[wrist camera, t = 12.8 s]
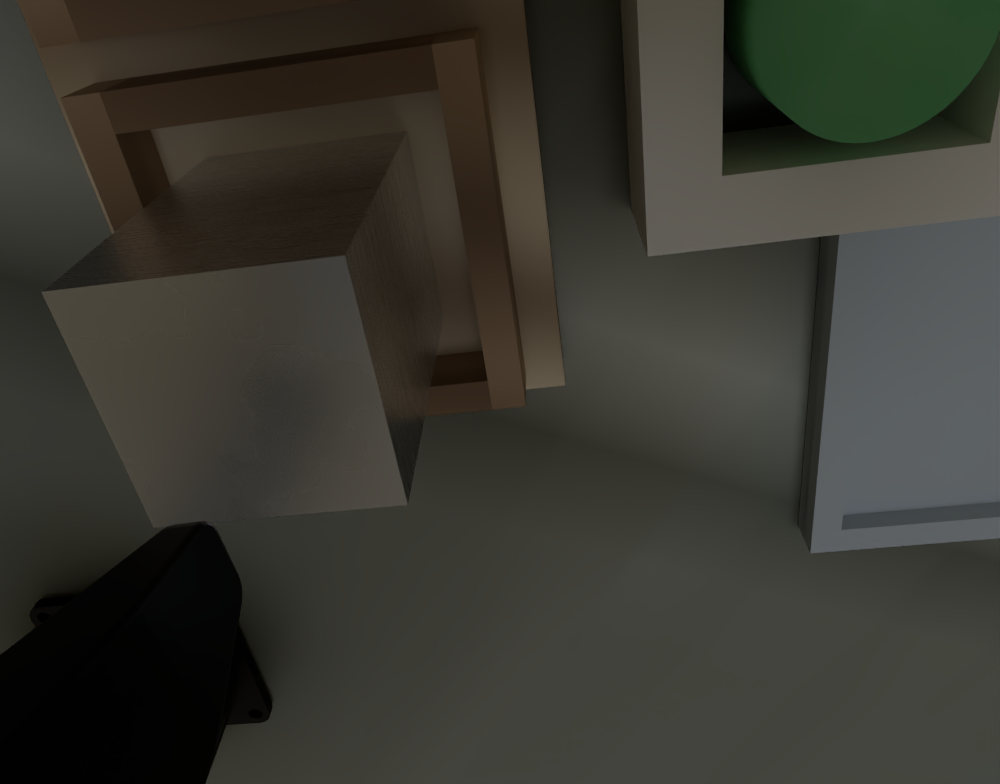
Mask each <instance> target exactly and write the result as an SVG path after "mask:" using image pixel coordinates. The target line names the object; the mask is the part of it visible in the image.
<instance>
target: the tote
mask: <svg viewBox="0 0 1000 784" xmlns="http://www.w3.org/2000/svg"><path fill="white" fill-rule="evenodd" d="M798 526H799V528H800V531H801V533H802V535H803V537H804V540H805V542H806V544H807V547H808V549H809V551H810V553H820V552H833V551H845V550H858V549H870V548H883V547H895V546H908V545H920V544H933V543H945V542H957V541H970V540H982V539H995V538H1000V216H994V217H986V218H977V219H969V220H960V221H951V222H943V223H934V224H925V225H917V226H908V227H900V228H891V229H882V230H874V231H865V232H856V233H848V234H839V235H831V236H822V237H821V242H820V255H819V268H818V280H817V293H816V306H815V319H814V331H813V344H812V357H811V370H810V382H809V395H808V408H807V421H806V433H805V446H804V459H803V472H802V485H801V497H800V510H799V523H798Z"/></svg>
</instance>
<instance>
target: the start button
mask: <svg viewBox="0 0 1000 784" xmlns="http://www.w3.org/2000/svg"><path fill="white" fill-rule="evenodd" d="M724 28H725V36H726V42H727V46H728V49H729V52H730V55H731V58H732V60H733V62H734V64H735V66H736V68H737V69H738V71H739V72H740V74H741V75H742V77H743V78H744V79H745V80H746V81H747V82H748V83H749V84H750V85H751V86H752V87H753V88H754V89H755V90H756V91H758V92H759V93H760V94H761V95H762V96H764V97H765V98H766V99H767V100H768V101H770V102H771V103H772V104H773V105H774V106H776V107H777V108H778V109H779V110H780V111H782V112H783V113H784V114H785V115H786V116H788V117H789V118H790V119H791V120H792V121H794V122H795V123H796V124H798V125H799V126H800V127H801V128H803V129H805V130H806V131H808V132H810V133H812V134H814V135H816V136H819V137H821V138H824V139H827V140H832V141H836V142H842V143H869V142H875V141H880V140H885V139H888V138H891V137H894V136H898V135H900V134H903V133H905V132H907V131H910V130H912V129H914V128H916V127H918V126H919V125H921V124H923V123H925V122H926V121H928V120H930V119H931V118H932V117H934V116H935V115H937V114H938V113H939V112H941V111H942V110H943V109H945V108H946V107H947V106H948V105H949V104H950V103H951V102H952V101H954V100H955V99H956V98H957V97H958V96H959V95H960V94H961V92H962V91H963V90H964V89H965V88H966V87H967V86H968V85H969V83H970V82H971V81H972V80H973V78H974V77H975V76H976V74H977V73H978V72H979V70H980V69H981V67H982V65H983V64H984V62H985V60H986V59H987V57H988V55H989V53H990V51H991V49H992V47H993V45H994V43H995V41H996V39H997V36H998V33H999V30H1000V0H726V1H725V10H724Z"/></svg>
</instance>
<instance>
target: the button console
mask: <svg viewBox="0 0 1000 784" xmlns="http://www.w3.org/2000/svg"><path fill="white" fill-rule="evenodd" d="M620 2H621V21H622V41H623V60H624V80H625V99H626V119H627V138H628V158H629V177H630V197H631V210H632V213H633V216H634V218H635V221H636V224H637V227H638V230H639V233H640V236H641V239H642V242H643V245H644V248H645V250H646V253H647V256H648V257H650V256H658V255H667V254H675V253H684V252H693V251H701V250H710V249H719V248H727V247H736V246H744V245H753V244H762V243H770V242H779V241H787V240H796V239H805V238H813V237H822V236H831V235H839V234H848V233H856V232H865V231H874V230H882V229H891V228H900V227H908V226H917V225H925V224H934V223H943V222H951V221H960V220H969V219H977V218H986V217H994V216H1000V30H999V33H998V36H997V39H996V41H995V43H994V45H993V47H992V49H991V51H990V53H989V55H988V57H987V59H986V60H985V62H984V64H983V65H982V67H981V69H980V70H979V72H978V73H977V74H976V76H975V77H974V78H973V80H972V81H971V82H970V83H969V85H968V86H967V87H966V88H965V89H964V90H963V91H962V92H961V94H960V95H959V96H958V97H957V98H956V99H955V100H954V101H952V102H951V103H950V104H949V105H948V106H947V107H946V108H945V109H943V110H942V111H941V112H939V113H938V114H937V115H935V116H934V117H932V118H931V119H930V120H928V121H926V122H925V123H923V124H921V125H919V126H918V127H916V128H914V129H912V130H910V131H907V132H905V133H903V134H900V135H898V136H894V137H891V138H888V139H885V140H880V141H875V142H869V143H842V142H836V141H832V140H827V139H824V138H821V137H819V136H816V135H814V134H812V133H810V132H808V131H806V130H805V129H803V128H801V127H800V126H799V125H798V124H790V125H783V126H775V127H767V128H759V129H752V130H744V131H736V132H728V133H723V35H724V0H620Z"/></svg>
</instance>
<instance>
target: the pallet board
mask: <svg viewBox="0 0 1000 784" xmlns="http://www.w3.org/2000/svg"><path fill="white" fill-rule="evenodd" d="M17 3H18V5H19V8H20V10H21V12H22V15H23V17H24V20H25V22H26V25H27V27H28V30H29V32H30V34H31V37H32V39H33V42H34V44H35V47H36V49H37V52H38V54H39V56H40V59H41V61H42V64H43V66H44V69H45V71H46V74H47V76H48V78H49V81H50V83H51V86H52V88H53V91H54V93H55V96H56V98H57V100H58V103H59V105H60V108H61V110H62V113H63V115H64V118H65V120H66V122H67V125H68V127H69V130H70V132H71V135H72V137H73V140H74V142H75V145H76V147H77V149H78V152H79V154H80V157H81V159H82V162H83V164H84V167H85V169H86V171H87V174H88V176H89V179H90V181H91V184H92V186H93V189H94V191H95V193H96V196H97V198H98V201H99V203H100V206H101V208H102V211H103V213H104V215H105V218H106V220H107V223H108V225H109V228H110V230H111V233H112V234H113V233H114V232H115V231H117V230H118V229H119V228H120V227H121V226H123V225H124V224H125V223H126V222H128V221H129V220H130V219H131V218H132V217H134V216H135V215H136V214H137V213H139V212H140V211H141V210H142V209H143V208H145V207H146V206H147V205H148V204H150V203H151V202H152V201H153V200H154V199H156V198H157V197H158V196H159V195H161V194H162V193H163V192H164V191H165V190H167V189H168V188H169V187H170V186H172V185H173V184H174V183H175V182H176V181H178V180H179V179H180V178H181V177H183V176H184V175H185V174H186V173H187V172H189V171H190V170H191V169H192V168H194V167H195V166H196V165H197V164H198V163H200V162H201V161H202V160H203V159H205V158H206V157H213V156H220V155H228V154H235V153H243V152H250V151H258V150H265V149H273V148H280V147H288V146H295V145H302V144H310V143H317V142H325V141H332V140H340V139H347V138H355V137H362V136H369V135H377V134H384V133H392V132H399V131H408V136H409V141H410V147H411V152H412V157H413V162H414V167H415V173H416V178H417V183H418V188H419V193H420V199H421V204H422V209H423V214H424V219H425V225H426V230H427V235H428V240H429V245H430V251H431V256H432V261H433V266H434V271H435V277H436V282H437V287H438V292H439V297H440V303H441V308H442V313H443V318H444V319H443V324H442V329H441V334H440V339H439V345H438V350H437V355H436V360H435V366H434V371H433V376H432V381H431V387H430V392H429V397H428V402H427V407H426V413H425V416H435V415H445V414H455V413H465V412H475V411H485V410H495V409H505V408H515V407H525V406H526V389H535V388H545V387H555V386H565V378H564V366H563V356H562V347H561V337H560V328H559V319H558V310H557V301H556V291H555V282H554V273H553V264H552V254H551V245H550V236H549V227H548V218H547V208H546V199H545V190H544V181H543V171H542V162H541V153H540V144H539V135H538V125H537V116H536V107H535V98H534V88H533V79H532V70H531V61H530V52H529V42H528V33H527V24H526V15H525V5H524V0H17Z"/></svg>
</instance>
